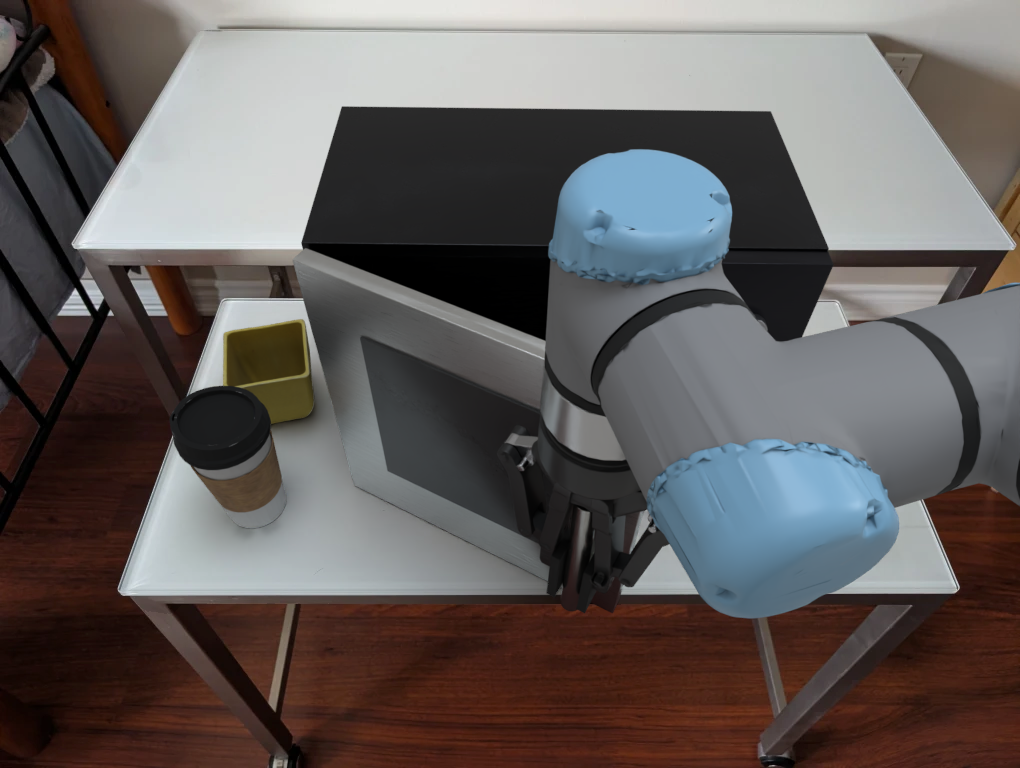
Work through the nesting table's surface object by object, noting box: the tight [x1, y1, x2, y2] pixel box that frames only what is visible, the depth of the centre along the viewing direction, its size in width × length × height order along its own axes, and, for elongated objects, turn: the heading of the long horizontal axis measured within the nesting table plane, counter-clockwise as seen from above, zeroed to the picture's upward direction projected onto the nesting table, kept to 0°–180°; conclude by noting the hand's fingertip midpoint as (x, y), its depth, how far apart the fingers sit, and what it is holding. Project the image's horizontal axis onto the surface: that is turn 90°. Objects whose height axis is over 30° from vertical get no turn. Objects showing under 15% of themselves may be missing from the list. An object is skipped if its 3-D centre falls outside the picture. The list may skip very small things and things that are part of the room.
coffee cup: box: [169, 385, 287, 529], centre depth 72 cm, size 8×8×15 cm
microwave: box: [300, 105, 835, 342], centre depth 74 cm, size 22×40×31 cm, turn 90°
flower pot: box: [222, 318, 315, 425], centre depth 82 cm, size 9×9×9 cm
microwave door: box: [292, 248, 645, 614], centre depth 62 cm, size 6×30×31 cm, turn 62°
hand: (572, 589), depth 61 cm, fingers open, 2 cm apart
